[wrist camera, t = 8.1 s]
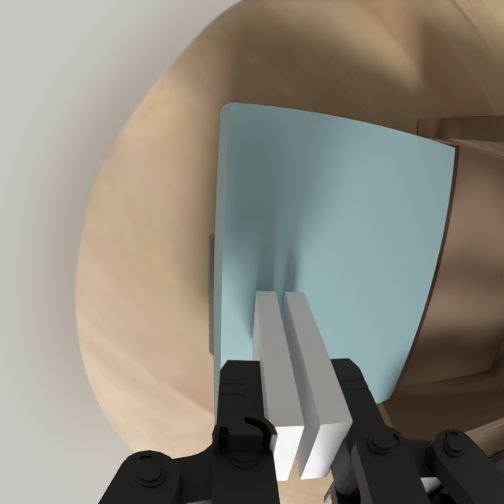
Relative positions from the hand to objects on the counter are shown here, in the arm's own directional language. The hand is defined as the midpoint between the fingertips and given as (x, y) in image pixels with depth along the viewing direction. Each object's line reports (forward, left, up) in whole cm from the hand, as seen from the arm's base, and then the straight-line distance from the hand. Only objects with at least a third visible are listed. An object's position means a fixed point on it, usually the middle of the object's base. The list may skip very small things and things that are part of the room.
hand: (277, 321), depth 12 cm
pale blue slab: (0, -9, -5) cm, 10 cm away
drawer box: (0, -16, -7) cm, 17 cm away
